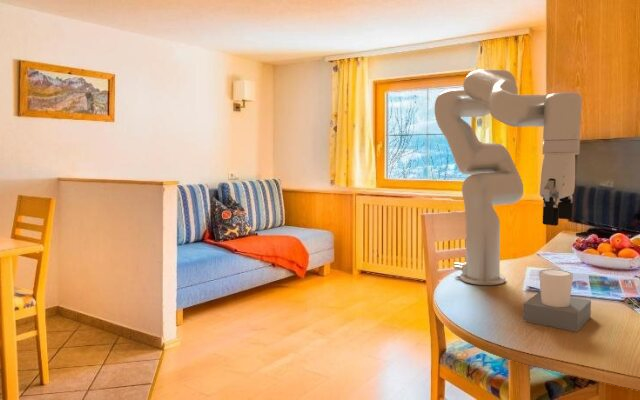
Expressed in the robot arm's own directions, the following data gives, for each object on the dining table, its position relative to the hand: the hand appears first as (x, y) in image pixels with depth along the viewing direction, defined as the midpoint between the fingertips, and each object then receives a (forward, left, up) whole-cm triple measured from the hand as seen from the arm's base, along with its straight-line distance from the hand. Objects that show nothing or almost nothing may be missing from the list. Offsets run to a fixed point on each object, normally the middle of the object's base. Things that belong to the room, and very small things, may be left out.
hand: (557, 221), depth 110 cm
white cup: (+2, -7, -18) cm, 19 cm away
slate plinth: (+2, -6, -21) cm, 22 cm away
